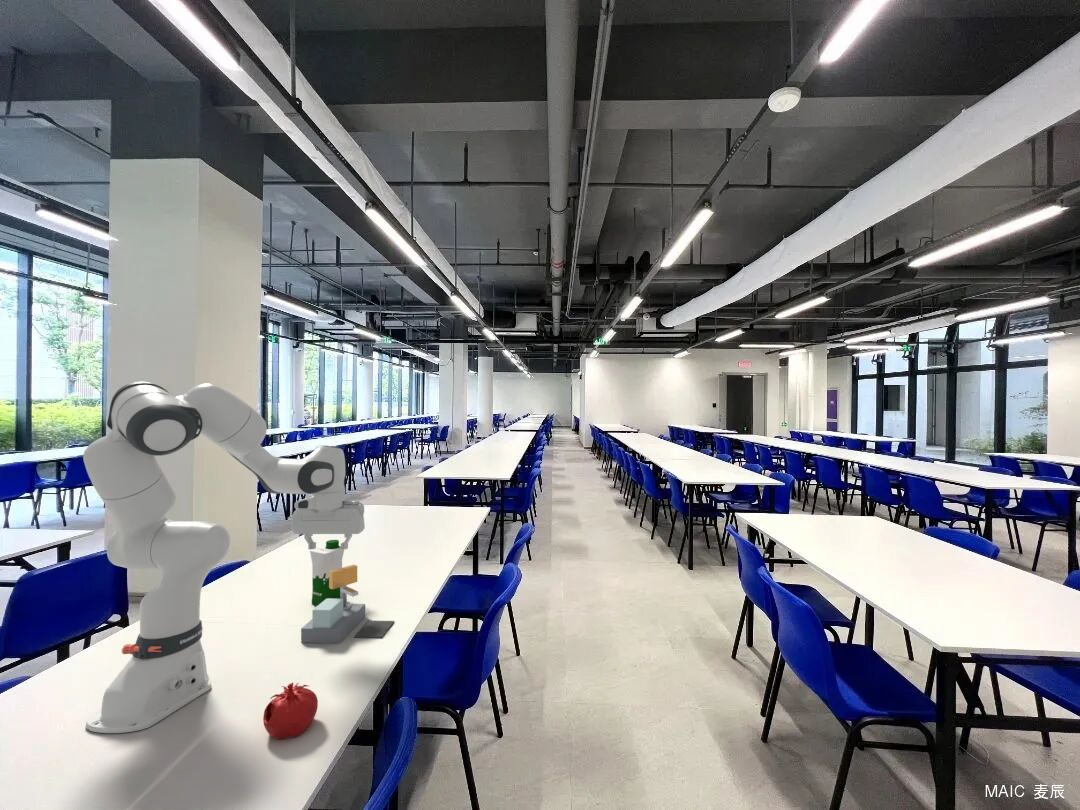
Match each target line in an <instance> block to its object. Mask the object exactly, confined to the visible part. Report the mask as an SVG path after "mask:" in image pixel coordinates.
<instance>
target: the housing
mask: <svg viewBox="0 0 1080 810" xmlns="http://www.w3.org/2000/svg"><path fill="white" fill-rule="evenodd" d="M365 618H366V603H348V602H347V606H346V607H344V608H343V616H342V617H341V618H340V619H339V620H338V621H337V622H336V623H335V624H334V625H333V626H332V627H331V628H313V619H311V620H309V621H308V622H307V623H306V624H304V626H302V627H301V629H300V638H301V639H300V642H301V644H341V643H342V642H343V641H344V640H345V639H346V638H347V637H348V636H349V635H350V633H351V632H352V631H353V630H354V629H355V628H356V627H357V626H358V625H359V624H360V623H361V622H362V621H363V620H364V619H365Z"/></svg>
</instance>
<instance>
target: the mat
mask: <svg viewBox="0 0 1080 810" xmlns="http://www.w3.org/2000/svg"><path fill="white" fill-rule="evenodd" d="M394 623H395V620H368V621H366V623H365V624H364V625H363V626H362V627H361V628H360V629H359V631H357V632H356V633H355V634H354V636H353V638H354V639H355V638H356V639H357V638H358V639H359V638H360V639H382V638H383V637H384V636H385V635H386V633H387V632H388V631H389V630H390V628H391V627H392V626H393V625H394Z"/></svg>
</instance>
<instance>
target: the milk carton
mask: <svg viewBox="0 0 1080 810" xmlns="http://www.w3.org/2000/svg"><path fill="white" fill-rule="evenodd" d="M309 553H310V559H311V566H312V567H311V569H312V573H311V574H312V577H311V578H312V592H311V605H314V606H316V607H317V606H318V605H319V604H320V603H322V602H323V601H324V600H325V599H327V598H332V599H340V587H339V588H336V589H333V590H332V589H330V588H329V571H332V570H336V569H340V568H343V559H344V558H343V557H344V553H345V549H341V545H340V540H339V539H329V540H327V541H326V542H325V545H324V546H321V547H316V548H315V549H310V550H309Z"/></svg>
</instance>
